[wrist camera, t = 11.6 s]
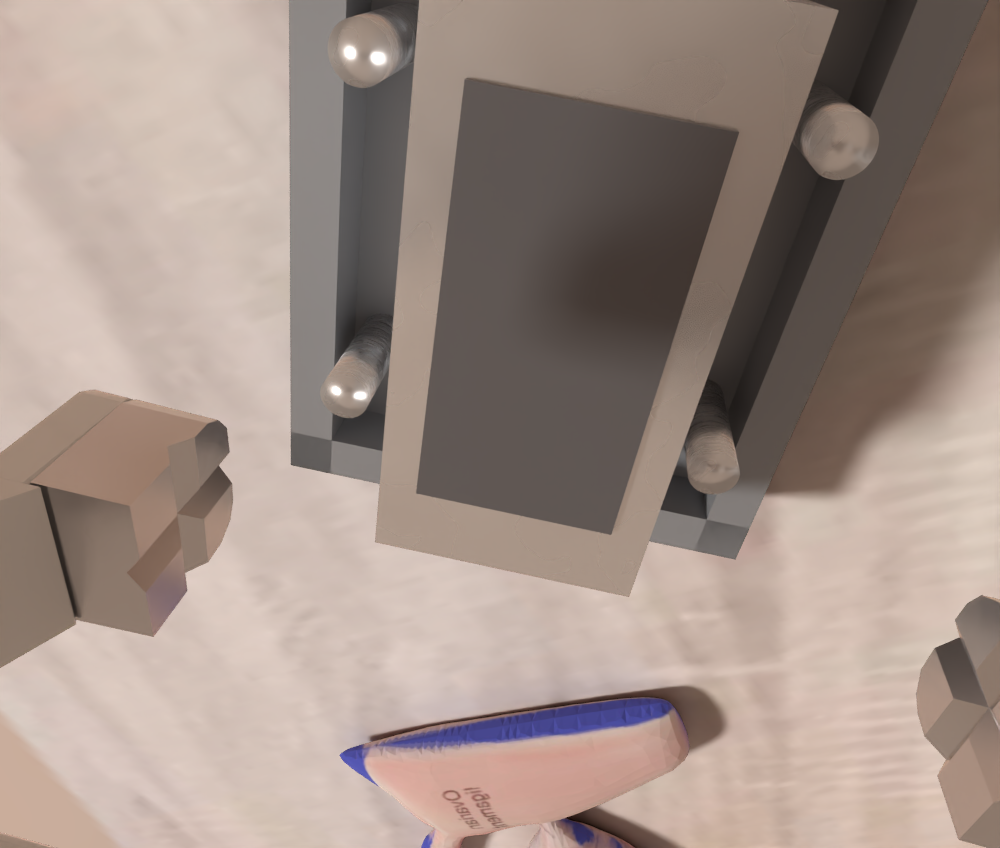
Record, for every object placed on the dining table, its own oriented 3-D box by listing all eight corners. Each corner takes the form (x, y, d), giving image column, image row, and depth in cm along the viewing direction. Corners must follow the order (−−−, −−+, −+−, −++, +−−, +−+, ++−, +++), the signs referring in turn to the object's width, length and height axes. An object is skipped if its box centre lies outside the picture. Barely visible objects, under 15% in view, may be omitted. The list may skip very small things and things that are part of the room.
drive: (770, -13, 13) (841, 11, 9) (628, 449, 19) (628, 600, 14) (489, -66, 13) (423, -68, 9) (431, 407, 19) (373, 545, 14)
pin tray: (964, -86, 13) (1081, -94, 10) (724, 495, 20) (743, 605, 17) (341, -198, 13) (245, -244, 10) (325, 411, 20) (266, 503, 17)
